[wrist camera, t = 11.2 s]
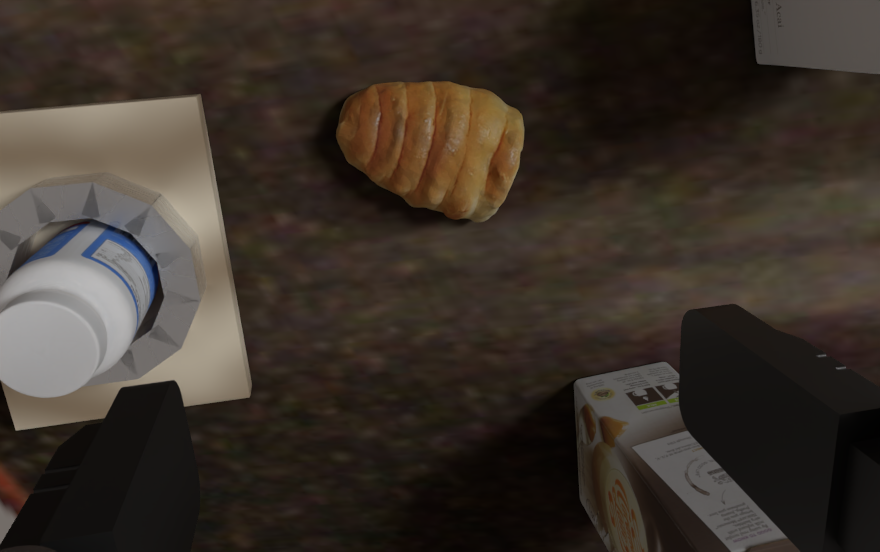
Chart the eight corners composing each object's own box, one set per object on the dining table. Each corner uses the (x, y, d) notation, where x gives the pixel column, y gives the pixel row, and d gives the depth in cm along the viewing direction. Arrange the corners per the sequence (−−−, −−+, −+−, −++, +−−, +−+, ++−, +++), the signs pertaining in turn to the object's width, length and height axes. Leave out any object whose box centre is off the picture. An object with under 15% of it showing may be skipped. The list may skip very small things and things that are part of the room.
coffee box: (568, 378, 45) (700, 556, 30) (667, 358, 45) (844, 522, 30) (577, 503, 48) (701, 721, 33) (669, 482, 48) (832, 686, 33)
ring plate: (-63, 116, 34) (-79, 120, 33) (200, 94, 36) (196, 96, 34) (26, 416, 39) (15, 430, 38) (251, 384, 41) (249, 397, 40)
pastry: (322, 178, 38) (323, 193, 35) (354, 50, 37) (359, 51, 33) (488, 221, 41) (505, 239, 37) (525, 102, 39) (547, 108, 35)
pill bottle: (49, 318, 37) (-37, 415, 27) (43, 214, 35) (-52, 279, 26) (164, 322, 38) (119, 415, 28) (163, 220, 36) (113, 285, 27)
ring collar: (-33, 185, 34) (-58, 197, 32) (184, 164, 35) (175, 173, 33) (22, 374, 37) (3, 397, 35) (219, 348, 39) (213, 368, 36)
